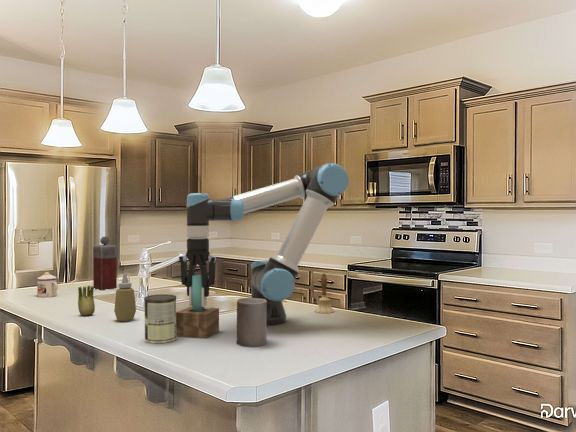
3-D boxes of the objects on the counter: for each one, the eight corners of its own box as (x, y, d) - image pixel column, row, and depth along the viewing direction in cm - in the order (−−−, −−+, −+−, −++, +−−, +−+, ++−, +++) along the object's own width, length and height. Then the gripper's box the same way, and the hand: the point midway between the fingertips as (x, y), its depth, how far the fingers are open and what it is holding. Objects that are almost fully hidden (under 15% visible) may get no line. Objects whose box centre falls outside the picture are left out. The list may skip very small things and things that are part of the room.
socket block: (218, 330, 183) (218, 308, 182) (206, 338, 172) (206, 314, 172) (190, 328, 185) (190, 306, 185) (176, 336, 175) (176, 312, 175)
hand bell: (323, 314, 211) (323, 275, 211) (310, 311, 218) (310, 273, 218) (338, 312, 216) (338, 273, 216) (325, 308, 223) (325, 271, 223)
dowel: (201, 317, 176) (200, 276, 176) (190, 316, 177) (190, 275, 177) (205, 315, 180) (205, 274, 180) (195, 314, 181) (195, 274, 181)
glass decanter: (106, 286, 287) (106, 235, 286) (116, 288, 279) (116, 236, 279) (91, 288, 280) (90, 236, 280) (101, 290, 272) (101, 237, 272)
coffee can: (137, 340, 170) (137, 297, 169) (163, 334, 178) (163, 293, 177) (157, 345, 163) (157, 300, 163) (182, 338, 171) (182, 296, 171)
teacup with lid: (32, 296, 253) (32, 272, 253) (49, 293, 261) (48, 270, 261) (49, 298, 248) (48, 274, 247) (65, 295, 256) (65, 272, 255)
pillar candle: (230, 342, 166) (230, 296, 166) (253, 337, 173) (253, 292, 173) (249, 348, 159) (250, 300, 159) (273, 342, 166) (273, 296, 166)
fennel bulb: (76, 316, 207) (76, 286, 207) (84, 313, 212) (84, 284, 212) (88, 317, 205) (88, 287, 205) (96, 314, 210) (96, 285, 210)
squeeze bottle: (129, 323, 195) (129, 275, 195) (110, 322, 196) (109, 274, 196) (139, 318, 203) (139, 272, 202) (121, 317, 204) (120, 272, 204)
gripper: (224, 237, 180) (225, 304, 180) (180, 237, 184) (180, 302, 184) (216, 239, 172) (216, 309, 173) (170, 238, 177) (170, 306, 177)
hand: (198, 305), depth 179 cm, fingers closed on dowel, 4 cm apart
